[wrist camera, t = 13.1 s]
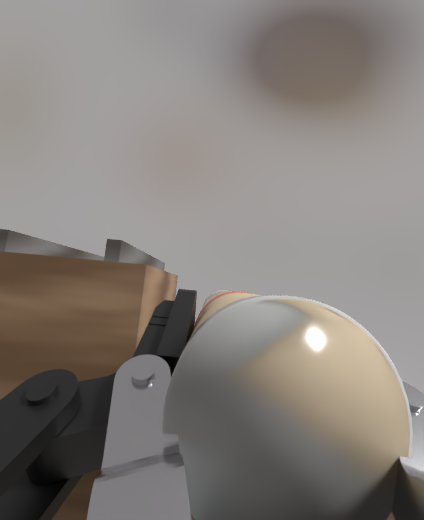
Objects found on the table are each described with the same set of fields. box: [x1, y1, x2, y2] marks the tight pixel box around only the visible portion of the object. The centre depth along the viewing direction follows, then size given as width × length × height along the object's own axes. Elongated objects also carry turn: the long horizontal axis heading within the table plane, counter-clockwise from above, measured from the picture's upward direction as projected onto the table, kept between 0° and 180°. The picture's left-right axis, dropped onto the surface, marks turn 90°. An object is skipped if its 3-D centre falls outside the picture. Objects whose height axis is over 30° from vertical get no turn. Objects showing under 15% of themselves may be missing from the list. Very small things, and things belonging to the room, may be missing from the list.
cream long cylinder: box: [162, 290, 413, 520], centre depth 14 cm, size 20×4×4 cm, turn 0°
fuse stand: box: [0, 229, 195, 520], centre depth 17 cm, size 12×20×33 cm, turn 90°
